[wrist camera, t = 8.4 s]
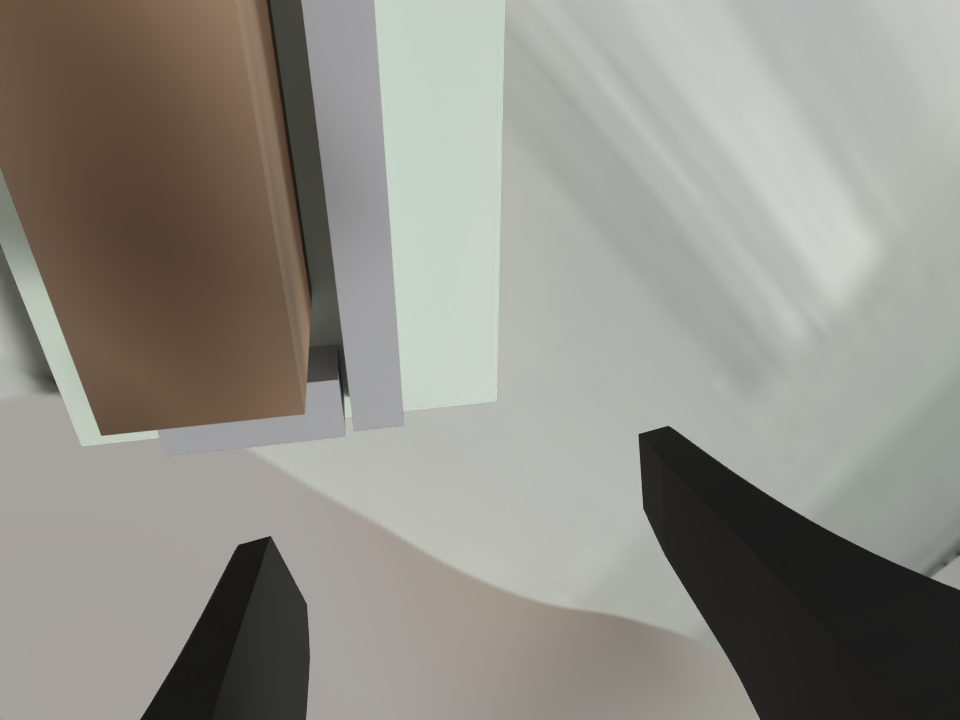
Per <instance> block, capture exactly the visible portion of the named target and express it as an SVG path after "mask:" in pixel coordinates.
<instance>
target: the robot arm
mask: <svg viewBox="0 0 960 720" xmlns="http://www.w3.org/2000/svg"><path fill="white" fill-rule="evenodd" d="M639 449H640V464H641V479H642V495H643V509H644V511H645V513H646V515H647V518H648V520H649V522H650V524H651V526H652V529H653V531H654V533H655V535H656V537H657V539H658V541H659V544H660V546H661V548H662V550H663V552H664V554H665V556H666V558H667V559H668V561H669V563H670V564H671V566H672V567H673V569H674V571H675V572H676V574H677V576H678V577H679V579H680V581H681V582H682V584H683V585H684V587H685V589H686V590H687V592H688V594H689V595H690V597H691V598H692V600H693V602H694V603H695V605H696V606H697V608H698V610H699V611H700V613H701V615H702V616H703V618H704V619H705V621H706V623H707V624H708V626H709V627H710V629H711V631H712V632H713V634H714V635H715V637H716V639H717V640H718V642H719V644H720V645H721V647H722V648H723V650H724V652H725V653H726V655H727V657H728V658H729V660H730V662H731V664H732V665H733V667H734V669H735V671H736V672H737V674H738V676H739V678H740V680H741V682H742V683H743V686H744V688H745V690H746V692H747V694H748V696H749V698H750V700H751V702H752V704H753V706H754V708H755V710H756V712H757V714H758V716H759V718H760V720H960V590H958V589H956V588H953V587H951V586H948V585H945V584H943V583H940V582H938V581H936V580H933V579H931V578H929V577H926V576H924V575H922V574H919V573H917V572H914V571H912V570H910V569H907V568H905V567H903V566H900V565H898V564H896V563H893V562H891V561H889V560H887V559H885V558H882V557H880V556H878V555H876V554H874V553H872V552H870V551H868V550H866V549H864V548H862V547H860V546H858V545H856V544H854V543H852V542H850V541H848V540H846V539H844V538H842V537H840V536H838V535H836V534H834V533H832V532H830V531H828V530H826V529H825V528H823V527H821V526H819V525H817V524H816V523H814V522H812V521H810V520H809V519H807V518H805V517H804V516H802V515H800V514H798V513H797V512H795V511H793V510H792V509H790V508H788V507H787V506H785V505H783V504H782V503H780V502H779V501H777V500H775V499H774V498H772V497H771V496H769V495H767V494H766V493H764V492H763V491H761V490H760V489H758V488H757V487H755V486H754V485H752V484H751V483H749V482H748V481H746V480H745V479H743V478H742V477H740V476H739V475H737V474H736V473H734V472H733V471H731V470H730V469H728V468H727V467H725V466H724V465H723V464H721V463H720V462H718V461H717V460H716V459H714V458H713V457H711V456H710V455H709V454H707V453H706V452H704V451H703V450H702V449H700V448H699V447H698V446H696V445H695V444H693V443H692V442H691V441H689V440H688V439H687V438H685V437H684V436H683V435H681V434H680V433H678V432H677V431H676V430H674V429H673V428H671V427H669V426H666V427H663V428H659V429H656V430H652V431H648V432H645V433H641V434H639ZM309 651H310V650H309V629H308V615H307V604H306V602H305V600H304V598H303V596H302V594H301V592H300V591H299V589H298V587H297V585H296V583H295V581H294V579H293V577H292V575H291V574H290V572H289V570H288V568H287V566H286V564H285V562H284V560H283V558H282V556H281V555H280V553H279V551H278V549H277V547H276V545H275V543H274V541H273V539H272V538H271V536H269V537H265V538H262V539H258V540H255V541H251V542H248V543H244V544H240V545H238V547H237V548H236V550H235V551H234V553H233V555H232V557H231V559H230V561H229V563H228V565H227V567H226V569H225V571H224V573H223V575H222V577H221V579H220V581H219V582H218V585H217V586H216V588H215V590H214V592H213V594H212V596H211V598H210V600H209V602H208V604H207V606H206V607H205V610H204V611H203V613H202V615H201V617H200V619H199V621H198V622H197V624H196V626H195V628H194V630H193V631H192V634H191V635H190V637H189V639H188V641H187V642H186V644H185V646H184V648H183V650H182V652H181V653H180V655H179V657H178V659H177V660H176V662H175V664H174V665H173V667H172V669H171V670H170V672H169V674H168V675H167V677H166V679H165V680H164V682H163V684H162V685H161V687H160V689H159V691H158V692H157V694H156V695H155V697H154V699H153V700H152V702H151V703H150V705H149V707H148V708H147V710H146V711H145V713H144V715H143V716H142V718H141V719H140V720H306V711H307V697H308V696H307V695H308V681H309V663H310V652H309Z"/></svg>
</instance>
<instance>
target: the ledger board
mask: <svg viewBox="0 0 960 720" xmlns="http://www.w3.org/2000/svg"><path fill="white" fill-rule="evenodd" d="M270 4H271V11H272V18H273V25H274V32H275V39H276V46H277V52H278V59H279V66H280V73H281V80H282V87H283V94H284V101H285V108H286V115H287V122H288V129H289V136H290V143H291V150H292V157H293V164H294V171H295V177H296V184H297V191H298V198H299V205H300V212H301V219H302V226H303V233H304V240H305V247H306V254H307V261H308V268H309V275H310V282H311V289H312V305H311V322H310V338H309V355H308V371H307V388H306V404H305V414H303V415H293V416H284V417H275V418H265V419H256V420H247V421H237V422H228V423H219V424H209V425H200V426H191V427H181V428H172V429H162V430H153V431H144V432H134V433H125V434H116V435H106V436H101V434H100V431H99V428H98V426H97V423H96V421H95V418H94V415H93V413H92V410H91V407H90V405H89V402H88V399H87V397H86V394H85V391H84V389H83V386H82V383H81V381H80V378H79V376H78V373H77V370H76V368H75V365H74V362H73V360H72V357H71V354H70V352H69V349H68V346H67V344H66V341H65V338H64V336H63V333H62V330H61V328H60V325H59V323H58V320H57V317H56V315H55V312H54V309H53V307H52V304H51V301H50V299H49V296H48V293H47V291H46V288H45V285H44V283H43V280H42V278H41V275H40V272H39V270H38V267H37V264H36V262H35V259H34V256H33V254H32V251H31V248H30V246H29V243H28V240H27V238H26V235H25V233H24V230H23V227H22V225H21V222H20V219H19V217H18V214H17V211H16V209H15V206H14V203H13V201H12V198H11V195H10V193H9V190H8V188H7V185H6V182H5V180H4V177H3V174H2V172H1V169H0V244H1V247H2V249H3V252H4V254H5V257H6V259H7V262H8V264H9V267H10V269H11V272H12V274H13V277H14V279H15V281H16V284H17V286H18V289H19V291H20V294H21V296H22V299H23V301H24V304H25V306H26V309H27V311H28V314H29V316H30V319H31V321H32V324H33V326H34V329H35V331H36V334H37V336H38V339H39V341H40V344H41V346H42V349H43V351H44V354H45V356H46V359H47V361H48V364H49V366H50V369H51V371H52V374H53V376H54V379H55V381H56V384H57V386H58V388H59V391H60V393H61V396H62V398H63V401H64V403H65V406H66V408H67V411H68V413H69V416H70V418H71V421H72V423H73V426H74V428H75V431H76V433H77V436H78V438H79V441H80V443H81V446H88V445H98V444H107V443H116V442H126V441H134V440H144V439H153V438H160V441H161V444H162V447H163V451H164V454H165V456H166V457H170V456H179V455H188V454H196V453H205V452H214V451H223V450H232V449H241V448H250V447H258V446H267V445H276V444H285V443H294V442H302V441H311V440H320V439H329V438H338V437H346V434H345V418H346V417H352V419H353V428H354V431H363V430H372V429H381V428H390V427H399V426H404V414H403V411H410V410H420V409H429V408H438V407H447V406H456V405H466V404H475V403H484V402H493V401H497V357H498V309H499V260H500V212H501V164H502V116H503V68H504V19H505V0H270Z"/></svg>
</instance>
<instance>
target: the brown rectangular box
mask: <svg viewBox="0 0 960 720" xmlns="http://www.w3.org/2000/svg"><path fill="white" fill-rule="evenodd" d="M0 169H1V172H2V174H3V177H4V180H5V182H6V185H7V188H8V190H9V193H10V195H11V198H12V201H13V203H14V206H15V209H16V211H17V214H18V217H19V219H20V222H21V225H22V227H23V230H24V233H25V235H26V238H27V240H28V243H29V246H30V248H31V251H32V254H33V256H34V259H35V262H36V264H37V267H38V270H39V272H40V275H41V278H42V280H43V283H44V285H45V288H46V291H47V293H48V296H49V299H50V301H51V304H52V307H53V309H54V312H55V315H56V317H57V320H58V323H59V325H60V328H61V330H62V333H63V336H64V338H65V341H66V344H67V346H68V349H69V352H70V354H71V357H72V360H73V362H74V365H75V368H76V370H77V373H78V376H79V378H80V381H81V383H82V386H83V389H84V391H85V394H86V397H87V399H88V402H89V405H90V407H91V410H92V413H93V415H94V418H95V421H96V423H97V426H98V428H99V431H100V434H101V436H106V435H116V434H125V433H134V432H144V431H153V430H162V429H172V428H181V427H191V426H200V425H209V424H219V423H228V422H237V421H247V420H256V419H265V418H275V417H284V416H293V415H303V414H305V404H306V388H307V371H308V355H309V338H310V322H311V305H312V289H311V282H310V275H309V268H308V261H307V254H306V247H305V240H304V233H303V226H302V219H301V212H300V205H299V198H298V191H297V184H296V177H295V171H294V164H293V157H292V150H291V143H290V136H289V129H288V122H287V115H286V108H285V101H284V94H283V87H282V80H281V73H280V66H279V59H278V52H277V46H276V39H275V32H274V25H273V18H272V11H271V4H270V0H0Z"/></svg>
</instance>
